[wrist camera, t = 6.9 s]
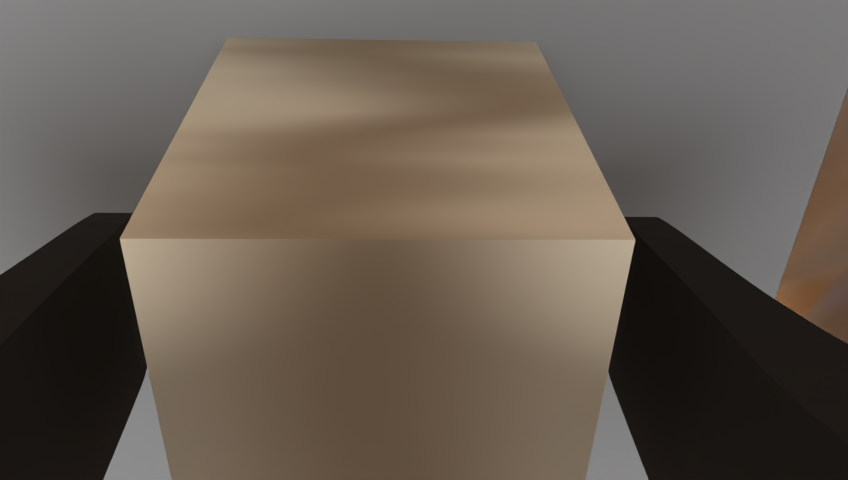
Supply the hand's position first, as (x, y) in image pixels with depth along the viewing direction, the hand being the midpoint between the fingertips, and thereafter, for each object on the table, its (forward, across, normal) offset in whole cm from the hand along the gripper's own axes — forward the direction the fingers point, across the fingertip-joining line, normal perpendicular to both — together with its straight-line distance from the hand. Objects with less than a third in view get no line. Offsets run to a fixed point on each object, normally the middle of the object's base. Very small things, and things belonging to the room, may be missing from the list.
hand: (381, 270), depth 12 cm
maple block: (+3, 0, 0) cm, 3 cm away
